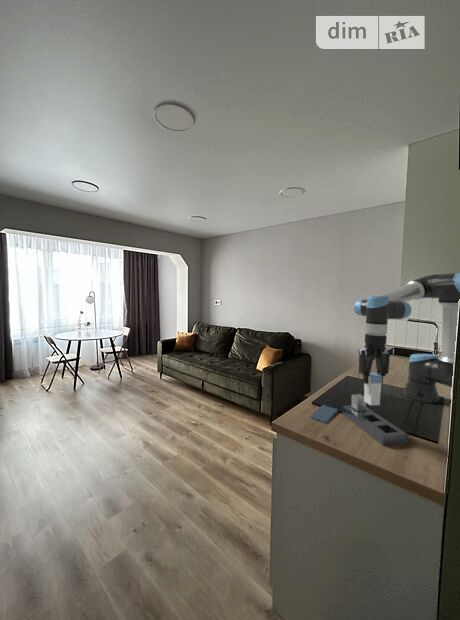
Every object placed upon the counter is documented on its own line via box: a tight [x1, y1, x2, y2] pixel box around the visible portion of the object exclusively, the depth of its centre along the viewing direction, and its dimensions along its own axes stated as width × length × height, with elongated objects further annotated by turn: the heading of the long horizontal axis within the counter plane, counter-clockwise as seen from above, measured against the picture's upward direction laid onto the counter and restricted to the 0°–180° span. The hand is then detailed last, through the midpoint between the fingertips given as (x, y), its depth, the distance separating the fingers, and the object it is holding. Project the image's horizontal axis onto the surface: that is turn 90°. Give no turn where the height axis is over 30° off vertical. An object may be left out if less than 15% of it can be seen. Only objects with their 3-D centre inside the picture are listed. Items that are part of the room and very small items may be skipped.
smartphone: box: [309, 404, 339, 424], centre depth 111 cm, size 8×2×15 cm
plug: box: [363, 372, 382, 406], centre depth 101 cm, size 4×4×12 cm
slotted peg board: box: [341, 393, 408, 446], centre depth 102 cm, size 10×24×9 cm, turn 9°
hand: (372, 390), depth 101 cm, fingers closed on plug, 4 cm apart
